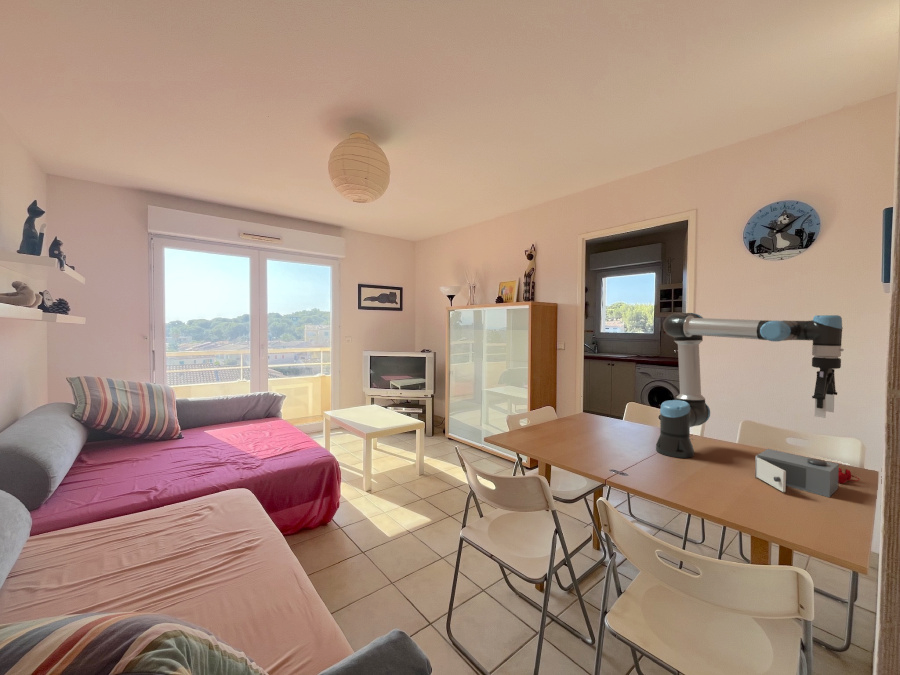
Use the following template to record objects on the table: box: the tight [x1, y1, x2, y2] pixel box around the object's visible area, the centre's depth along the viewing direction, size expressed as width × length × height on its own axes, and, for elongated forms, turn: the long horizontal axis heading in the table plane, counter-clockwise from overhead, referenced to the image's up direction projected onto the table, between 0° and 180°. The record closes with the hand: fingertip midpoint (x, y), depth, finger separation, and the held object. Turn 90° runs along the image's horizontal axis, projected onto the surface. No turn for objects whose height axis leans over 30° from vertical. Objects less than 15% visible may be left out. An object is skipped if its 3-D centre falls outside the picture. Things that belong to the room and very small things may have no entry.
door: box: [754, 454, 787, 493], centre depth 137 cm, size 14×2×8 cm, turn 174°
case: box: [756, 448, 840, 498], centre depth 139 cm, size 20×12×10 cm, turn 34°
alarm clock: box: [838, 467, 861, 485], centre depth 144 cm, size 10×6×15 cm
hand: (824, 414), depth 138 cm, fingers open, 13 cm apart
